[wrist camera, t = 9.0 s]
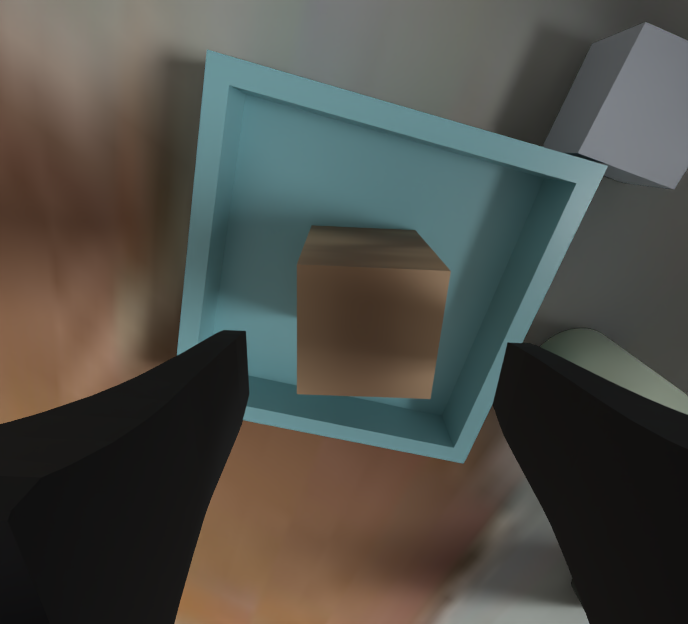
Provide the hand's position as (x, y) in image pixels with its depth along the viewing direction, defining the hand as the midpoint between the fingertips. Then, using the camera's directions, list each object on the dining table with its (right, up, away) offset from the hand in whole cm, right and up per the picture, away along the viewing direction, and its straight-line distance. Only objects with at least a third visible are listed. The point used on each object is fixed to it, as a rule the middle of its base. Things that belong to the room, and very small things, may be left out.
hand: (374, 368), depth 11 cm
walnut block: (0, +3, +7) cm, 8 cm away
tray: (0, +3, +8) cm, 8 cm away
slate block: (+10, +10, +5) cm, 15 cm away
